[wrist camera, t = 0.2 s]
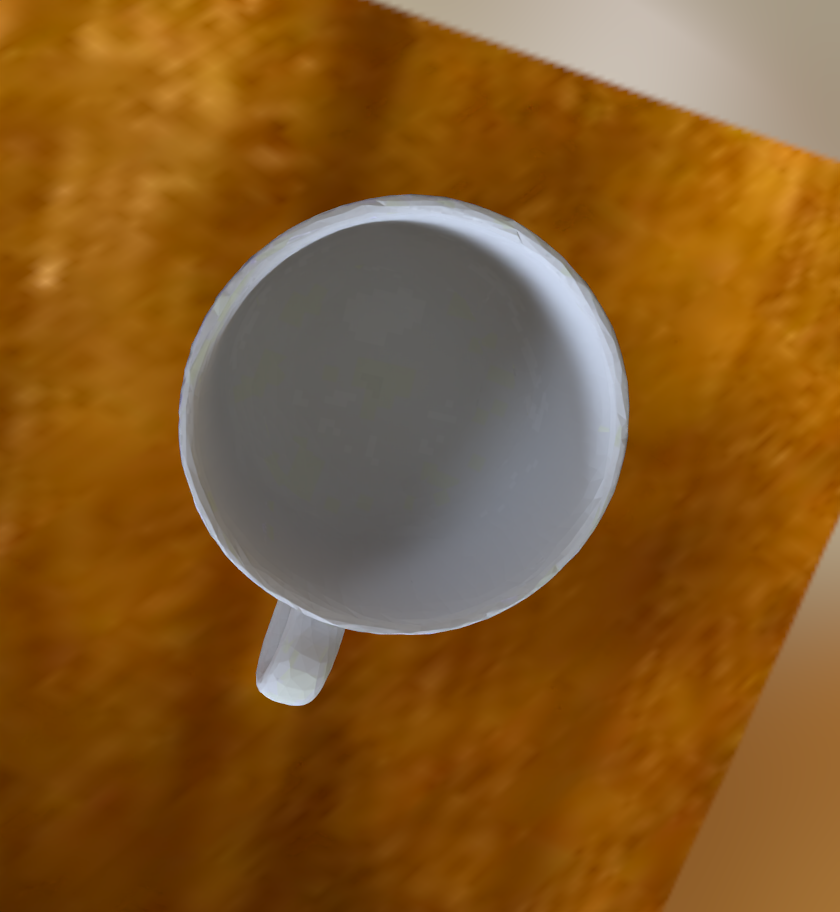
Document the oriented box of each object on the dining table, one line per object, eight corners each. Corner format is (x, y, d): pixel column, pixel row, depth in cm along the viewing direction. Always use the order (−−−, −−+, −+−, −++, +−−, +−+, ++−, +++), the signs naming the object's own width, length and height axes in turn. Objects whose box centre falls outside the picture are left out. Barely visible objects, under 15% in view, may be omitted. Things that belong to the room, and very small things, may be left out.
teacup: (345, 133, 24) (352, 85, 16) (614, 338, 27) (728, 380, 19) (107, 497, 26) (16, 605, 19) (377, 654, 29) (394, 806, 21)
